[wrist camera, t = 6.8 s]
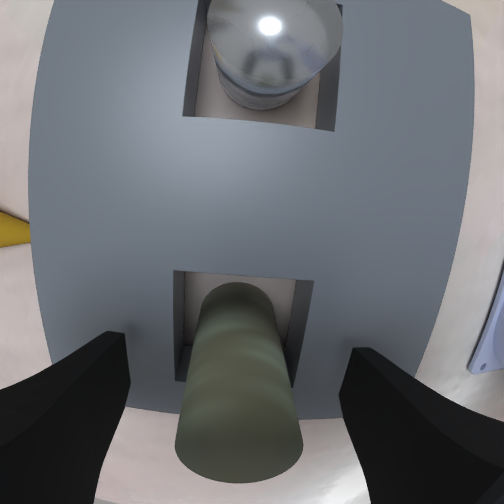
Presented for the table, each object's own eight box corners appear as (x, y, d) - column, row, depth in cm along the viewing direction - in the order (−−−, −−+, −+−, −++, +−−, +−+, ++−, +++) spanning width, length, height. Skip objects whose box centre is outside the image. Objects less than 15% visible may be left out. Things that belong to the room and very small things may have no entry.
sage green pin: (279, 286, 13) (317, 412, 6) (267, 348, 14) (289, 483, 7) (202, 278, 13) (173, 403, 6) (198, 342, 14) (176, 477, 7)
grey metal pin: (304, 41, 10) (344, -18, 5) (298, 114, 11) (339, 90, 6) (223, 32, 10) (216, -36, 5) (214, 106, 11) (198, 73, 6)
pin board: (438, 30, 10) (470, 14, 7) (380, 379, 15) (398, 411, 12) (89, -9, 9) (65, -33, 6) (80, 360, 14) (60, 392, 11)
